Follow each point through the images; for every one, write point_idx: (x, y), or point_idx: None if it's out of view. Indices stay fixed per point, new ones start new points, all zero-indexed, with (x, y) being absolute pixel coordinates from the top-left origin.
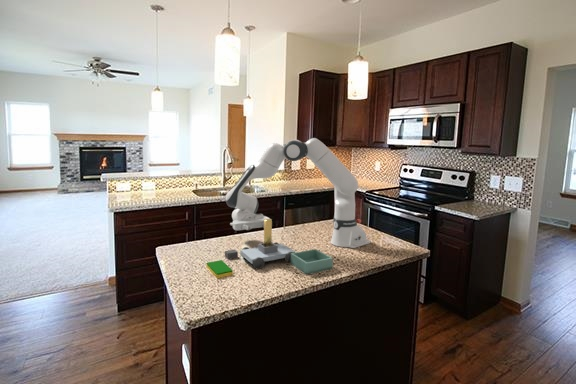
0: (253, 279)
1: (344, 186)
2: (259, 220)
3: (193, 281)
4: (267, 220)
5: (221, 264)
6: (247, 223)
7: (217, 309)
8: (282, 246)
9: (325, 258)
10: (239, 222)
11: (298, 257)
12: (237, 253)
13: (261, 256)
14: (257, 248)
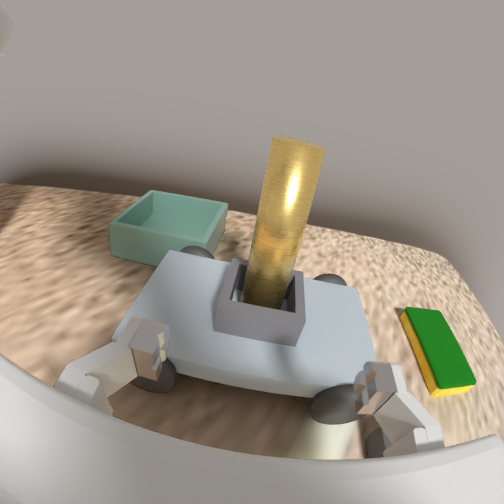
0: (353, 276)
1: (10, 31)
2: (125, 449)
3: (472, 329)
4: (309, 142)
5: (437, 351)
6: (383, 458)
7: (415, 250)
8: (153, 307)
9: (143, 208)
10: (480, 474)
11: (213, 221)
12: (377, 430)
13: (315, 287)
14: (290, 363)
